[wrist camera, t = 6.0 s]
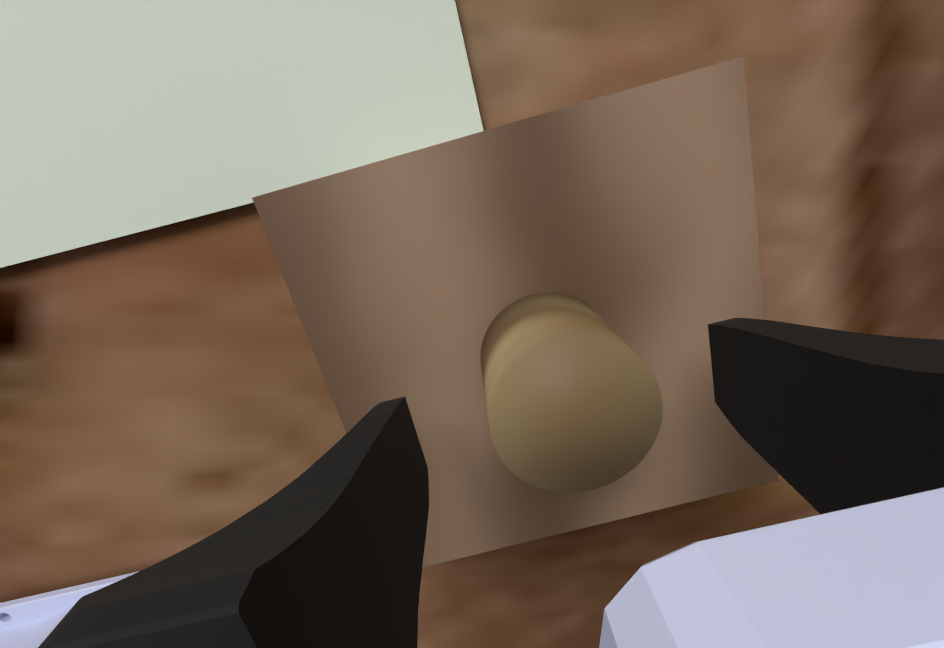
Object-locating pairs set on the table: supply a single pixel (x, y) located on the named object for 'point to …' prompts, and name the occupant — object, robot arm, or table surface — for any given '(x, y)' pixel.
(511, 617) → the table surface
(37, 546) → the table surface
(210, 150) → the mat
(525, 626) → the table surface
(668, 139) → the lid
